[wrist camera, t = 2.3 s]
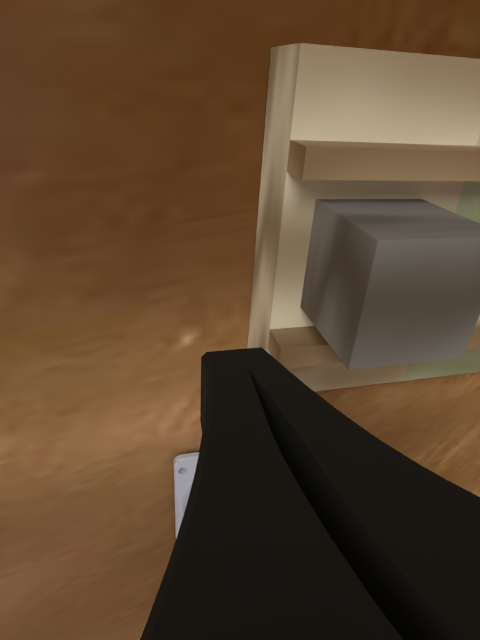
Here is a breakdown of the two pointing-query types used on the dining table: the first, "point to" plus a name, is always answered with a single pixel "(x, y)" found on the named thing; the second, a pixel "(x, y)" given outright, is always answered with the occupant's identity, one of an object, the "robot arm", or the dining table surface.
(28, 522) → the dining table surface
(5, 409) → the dining table surface
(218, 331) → the dining table surface
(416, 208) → the charcoal block
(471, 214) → the railed deck
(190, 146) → the dining table surface
